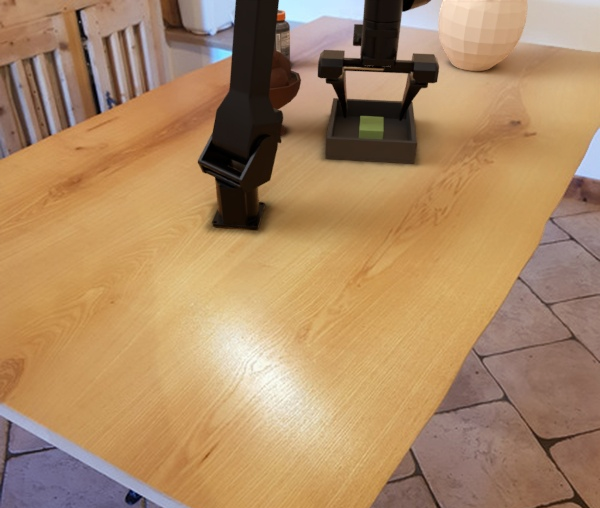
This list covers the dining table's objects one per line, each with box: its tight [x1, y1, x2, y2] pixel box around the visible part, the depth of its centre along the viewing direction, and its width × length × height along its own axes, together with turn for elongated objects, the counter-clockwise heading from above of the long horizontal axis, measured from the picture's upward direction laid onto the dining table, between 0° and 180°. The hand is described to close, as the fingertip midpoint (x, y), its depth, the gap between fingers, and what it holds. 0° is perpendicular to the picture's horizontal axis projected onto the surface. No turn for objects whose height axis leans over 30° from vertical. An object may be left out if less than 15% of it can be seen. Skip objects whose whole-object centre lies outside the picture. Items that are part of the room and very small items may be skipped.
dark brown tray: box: [324, 97, 418, 165], centre depth 96 cm, size 18×15×4 cm
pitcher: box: [437, 0, 528, 72], centre depth 119 cm, size 19×18×25 cm
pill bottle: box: [274, 9, 291, 61], centre depth 123 cm, size 6×6×11 cm
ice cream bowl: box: [269, 49, 302, 136], centre depth 94 cm, size 11×11×15 cm
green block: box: [359, 116, 384, 139], centre depth 94 cm, size 6×4×3 cm, turn 174°
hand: (372, 118), depth 93 cm, fingers open, 9 cm apart
